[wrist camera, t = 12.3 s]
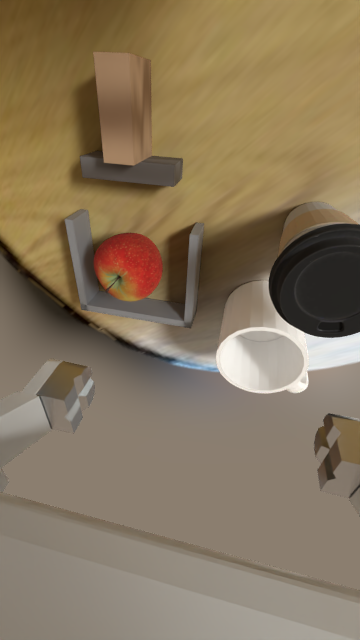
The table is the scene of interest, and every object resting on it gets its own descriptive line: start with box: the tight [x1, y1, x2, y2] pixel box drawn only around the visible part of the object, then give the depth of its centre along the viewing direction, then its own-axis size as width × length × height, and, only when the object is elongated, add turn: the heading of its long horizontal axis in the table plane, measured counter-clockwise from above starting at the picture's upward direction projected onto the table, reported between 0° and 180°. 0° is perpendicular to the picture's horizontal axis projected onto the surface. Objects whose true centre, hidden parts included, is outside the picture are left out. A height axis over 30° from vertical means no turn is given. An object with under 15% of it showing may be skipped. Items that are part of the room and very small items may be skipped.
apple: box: [94, 233, 163, 302], centre depth 36 cm, size 8×8×10 cm
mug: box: [216, 280, 309, 393], centre depth 38 cm, size 13×10×10 cm
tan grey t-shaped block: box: [80, 52, 183, 187], centre depth 29 cm, size 10×10×6 cm
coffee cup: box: [269, 202, 360, 338], centre depth 28 cm, size 9×9×15 cm
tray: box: [65, 209, 204, 328], centre depth 40 cm, size 13×16×4 cm
